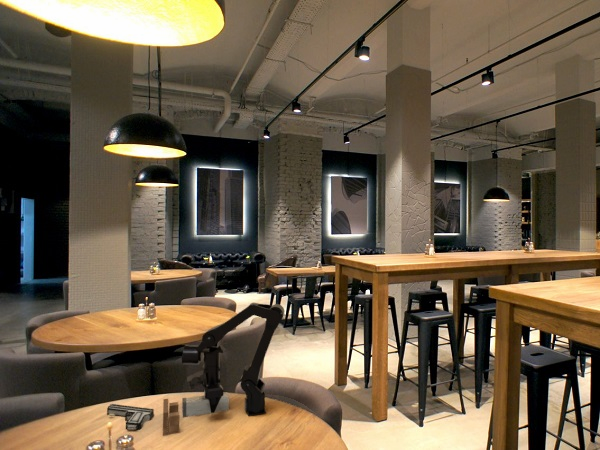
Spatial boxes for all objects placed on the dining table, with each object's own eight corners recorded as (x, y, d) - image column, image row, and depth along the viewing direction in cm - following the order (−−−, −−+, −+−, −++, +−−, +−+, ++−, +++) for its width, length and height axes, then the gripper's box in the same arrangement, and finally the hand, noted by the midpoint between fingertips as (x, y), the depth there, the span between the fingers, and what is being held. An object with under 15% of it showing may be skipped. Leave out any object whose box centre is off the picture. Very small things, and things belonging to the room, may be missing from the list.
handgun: (135, 425, 119) (158, 408, 131) (86, 418, 124) (112, 402, 136) (135, 434, 119) (158, 417, 131) (86, 427, 124) (112, 411, 136)
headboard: (178, 417, 130) (178, 397, 130) (179, 432, 119) (179, 410, 120) (163, 419, 128) (163, 399, 128) (162, 435, 118) (163, 413, 118)
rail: (227, 405, 139) (227, 391, 139) (228, 410, 135) (228, 396, 135) (182, 412, 133) (182, 398, 134) (182, 417, 130) (182, 402, 130)
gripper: (187, 358, 142) (186, 400, 141) (190, 375, 124) (189, 423, 123) (217, 355, 145) (216, 396, 145) (223, 371, 128) (223, 417, 127)
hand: (211, 407), depth 135 cm, fingers open, 8 cm apart
